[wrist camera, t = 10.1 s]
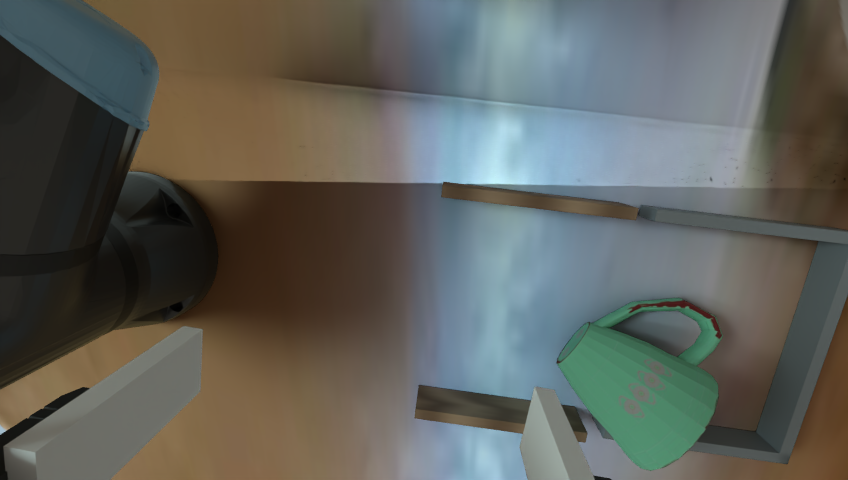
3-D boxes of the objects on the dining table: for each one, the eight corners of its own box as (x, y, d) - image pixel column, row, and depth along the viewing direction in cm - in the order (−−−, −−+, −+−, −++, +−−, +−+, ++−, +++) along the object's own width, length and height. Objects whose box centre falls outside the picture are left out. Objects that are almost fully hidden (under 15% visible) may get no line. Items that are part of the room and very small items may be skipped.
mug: (532, 383, 41) (620, 455, 38) (551, 390, 32) (669, 486, 29) (614, 272, 43) (702, 333, 41) (655, 247, 34) (773, 325, 31)
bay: (417, 393, 42) (414, 418, 38) (443, 181, 37) (442, 185, 34) (572, 415, 41) (585, 442, 38) (618, 202, 37) (638, 208, 33)
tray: (592, 418, 41) (603, 438, 38) (641, 205, 37) (657, 209, 34) (763, 441, 41) (787, 464, 38) (835, 227, 36) (869, 234, 33)
